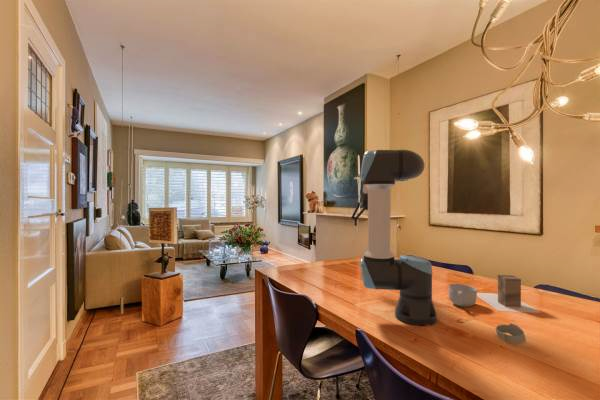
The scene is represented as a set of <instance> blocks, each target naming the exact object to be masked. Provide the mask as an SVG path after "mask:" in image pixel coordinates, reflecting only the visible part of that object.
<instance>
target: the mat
mask: <svg viewBox="0 0 600 400" xmlns="http://www.w3.org/2000/svg"><path fill="white" fill-rule="evenodd" d="M476 297H477V298H479V299H481V300H482V301H484V302H485V303H487V304H488V305H490V306H491V307H492V308H494V310H497V311H498V312H512V313H514V312H515V313H535V314H536V313H539V314H542V311H540V310H538V309H536V308H534V307H532V306H530V305H529V304H527V303H525V302H523V301H522V300H521V308H515V307H504V306H503V305H501V304H500V303H498V293H492V292H491V293H488V292H487V293H486V292H477V296H476Z"/></svg>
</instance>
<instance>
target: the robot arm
mask: <svg viewBox="0 0 600 400" xmlns="http://www.w3.org/2000/svg"><path fill="white" fill-rule="evenodd" d="M424 169H425V161H424V159H423V158H422V156H421V155H420V154H419V153H417V152H415V151H412V150H408V149H373V150H367V151H365V152H364V153H363V157H362V162H361V170H360V181H362V183H363V184H362V186H363V187H362V192H363V195H362V202H359V201H358V202H357V203H356V208H355V210H354V211H353V213H352V214H351V219H352V220H354V226H356V233H358V232H359V218H360V216H361V215H362V214H363V213H364V212H365V211H367V250H366V251H365V252H364V253H363V257H362V258H360V259H359V262H360V270H361V276H362V277H361V278H362V285H363V287H365V288H366V289H369V290H376V291H377V290H385V291H386V290H388V291H392V290H393V291H399V297H398V300H397V302H396V305H395V309H394V316H395V318H396V319H397V320H398V321H401V322H404V323H405V324H409V325H415V326H430V325H434V324H436V323H437V321H438V313H437V310H436V308H435V305H434V302H433V274H434V273H433V268H432V267H433V266H432V263H431V261H430V260H427V259H425V258H422V257H418V256H414V255H408V254H406V255H404V254H401V255H400V256H399V258H398V259H395V254H394V253H393V252H392V250H391V208H392V207H391V203H392V201H391V200H392V199H391V196H392V195H391V192H392V190H391V189H393V188H394V186H395V185H396V182H407V181H409V180H411V179H417V178H418V177H419V176H421V175H422V174H423V172H424ZM361 206H363V207H362V209H361V210H360V211H359V212H358V210H359V208H360V207H361ZM357 212H358V213H357ZM356 214H357V215H356Z"/></svg>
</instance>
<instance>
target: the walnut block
mask: <svg viewBox="0 0 600 400" xmlns="http://www.w3.org/2000/svg"><path fill="white" fill-rule="evenodd" d="M497 294H498V303H500V304H501V305H503V306H504V307H515V308H521V301H522V278H520V277H517V276H515V275H512V274H510V275H509V274H508V275H506V274H497Z"/></svg>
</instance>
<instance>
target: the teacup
mask: <svg viewBox="0 0 600 400" xmlns="http://www.w3.org/2000/svg"><path fill="white" fill-rule="evenodd" d="M477 293H478V288H476V287H474V286H472V285H467V284H465V283H450V284H448V298H449V299H448V300H450V301H451V302H452V303H453V305H455V306H458V307H462V308H465V307H467V308H469V307H472V306H473V305H476V302H477V297H478V296H477Z"/></svg>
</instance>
